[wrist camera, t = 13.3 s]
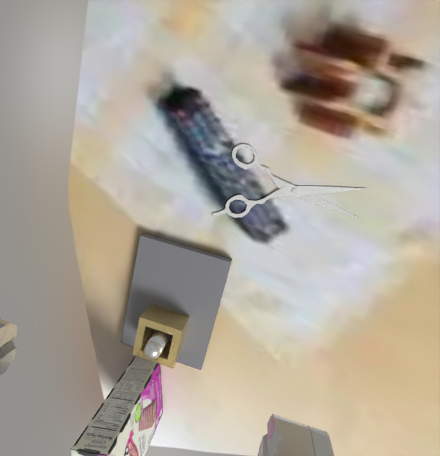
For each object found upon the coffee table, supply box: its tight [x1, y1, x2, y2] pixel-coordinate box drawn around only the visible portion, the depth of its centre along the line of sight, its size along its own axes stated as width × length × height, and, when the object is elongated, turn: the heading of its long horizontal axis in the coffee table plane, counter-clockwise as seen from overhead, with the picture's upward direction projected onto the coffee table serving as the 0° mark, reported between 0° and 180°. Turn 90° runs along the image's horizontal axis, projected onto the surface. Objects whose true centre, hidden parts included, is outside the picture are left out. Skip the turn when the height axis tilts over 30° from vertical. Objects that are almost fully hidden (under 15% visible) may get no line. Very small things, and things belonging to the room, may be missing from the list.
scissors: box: [213, 144, 368, 219], centre depth 36 cm, size 11×1×20 cm
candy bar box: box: [71, 356, 163, 456], centre depth 39 cm, size 11×5×16 cm, turn 0°
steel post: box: [144, 330, 171, 359], centre depth 39 cm, size 2×2×6 cm
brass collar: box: [133, 304, 190, 368], centre depth 40 cm, size 6×6×4 cm
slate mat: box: [121, 233, 232, 370], centre depth 42 cm, size 19×14×2 cm
